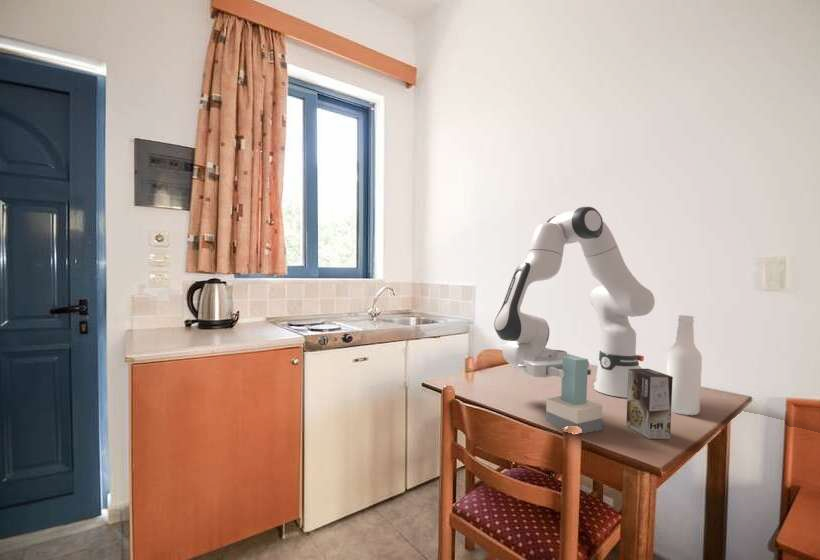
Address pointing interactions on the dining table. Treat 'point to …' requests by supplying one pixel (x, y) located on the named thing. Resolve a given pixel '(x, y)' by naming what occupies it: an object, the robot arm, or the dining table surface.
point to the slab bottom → (585, 426)
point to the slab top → (574, 410)
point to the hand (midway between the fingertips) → (577, 373)
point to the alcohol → (685, 369)
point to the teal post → (574, 380)
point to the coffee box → (649, 403)
